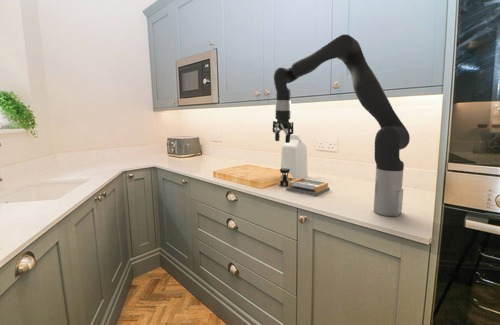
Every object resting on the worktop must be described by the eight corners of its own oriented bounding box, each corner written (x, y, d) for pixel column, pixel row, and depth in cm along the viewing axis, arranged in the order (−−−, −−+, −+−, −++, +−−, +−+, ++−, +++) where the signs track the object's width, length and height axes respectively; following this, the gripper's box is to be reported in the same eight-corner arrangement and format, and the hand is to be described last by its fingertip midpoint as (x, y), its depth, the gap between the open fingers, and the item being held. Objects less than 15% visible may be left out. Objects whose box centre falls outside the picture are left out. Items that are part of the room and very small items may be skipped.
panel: (329, 189, 139) (329, 182, 138) (316, 196, 129) (316, 188, 128) (300, 184, 150) (300, 177, 150) (286, 190, 140) (286, 182, 139)
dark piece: (276, 186, 148) (276, 168, 146) (278, 183, 153) (278, 166, 151) (288, 187, 146) (289, 168, 144) (290, 184, 151) (290, 166, 149)
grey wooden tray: (324, 185, 139) (324, 181, 138) (314, 189, 131) (314, 185, 131) (302, 181, 147) (302, 177, 147) (291, 185, 140) (291, 181, 139)
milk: (280, 176, 170) (280, 134, 166) (292, 173, 178) (292, 133, 173) (295, 180, 161) (296, 135, 157) (307, 176, 169) (308, 134, 164)
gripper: (298, 109, 133) (297, 143, 137) (280, 109, 145) (279, 140, 149) (286, 109, 130) (285, 144, 133) (268, 109, 142) (268, 140, 145)
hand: (282, 141), depth 141 cm, fingers open, 8 cm apart
